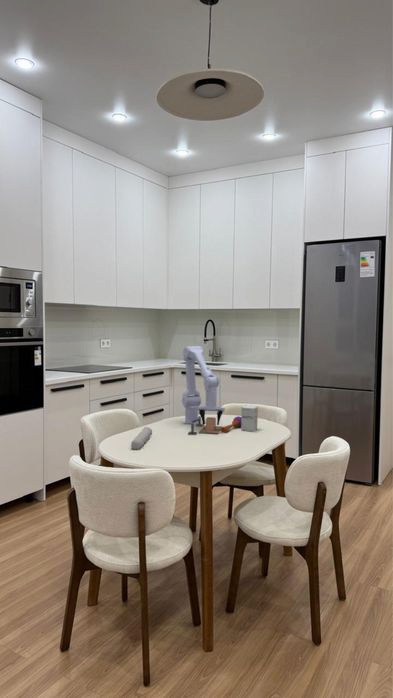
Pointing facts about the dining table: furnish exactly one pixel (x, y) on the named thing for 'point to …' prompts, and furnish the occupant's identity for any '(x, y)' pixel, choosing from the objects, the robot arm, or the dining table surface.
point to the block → (210, 423)
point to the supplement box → (249, 418)
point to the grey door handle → (195, 425)
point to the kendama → (235, 423)
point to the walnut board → (204, 431)
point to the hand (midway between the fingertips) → (210, 424)
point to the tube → (141, 438)
